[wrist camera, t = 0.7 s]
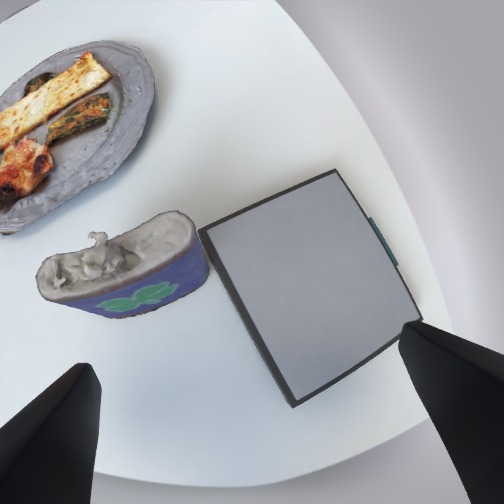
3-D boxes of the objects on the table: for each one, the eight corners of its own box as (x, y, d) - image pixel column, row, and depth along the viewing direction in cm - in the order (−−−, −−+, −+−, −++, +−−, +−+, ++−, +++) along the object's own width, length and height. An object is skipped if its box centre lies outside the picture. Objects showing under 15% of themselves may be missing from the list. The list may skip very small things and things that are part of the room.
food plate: (-24, 276, 21) (-46, 268, 17) (-24, 125, 26) (-37, 111, 22) (191, 152, 25) (187, 127, 22) (129, 35, 30) (124, 15, 27)
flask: (203, 251, 23) (181, 184, 13) (216, 288, 22) (202, 246, 12) (94, 291, 22) (9, 256, 11) (104, 327, 21) (18, 315, 11)
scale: (416, 318, 23) (431, 315, 20) (287, 403, 20) (294, 410, 18) (333, 176, 26) (342, 162, 23) (199, 237, 23) (196, 227, 21)
